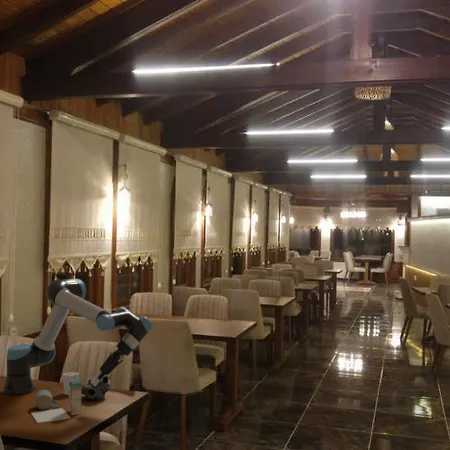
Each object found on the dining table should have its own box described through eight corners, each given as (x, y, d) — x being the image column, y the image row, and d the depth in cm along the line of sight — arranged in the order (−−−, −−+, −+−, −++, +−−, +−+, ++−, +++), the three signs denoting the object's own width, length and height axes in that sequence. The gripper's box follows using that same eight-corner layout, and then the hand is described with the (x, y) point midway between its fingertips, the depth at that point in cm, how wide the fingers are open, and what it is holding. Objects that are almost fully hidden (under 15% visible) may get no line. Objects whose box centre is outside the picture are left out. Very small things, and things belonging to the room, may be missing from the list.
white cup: (82, 392, 294) (82, 373, 294) (70, 396, 287) (70, 376, 288) (71, 390, 298) (71, 371, 299) (59, 394, 292) (59, 374, 292)
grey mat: (30, 413, 259) (30, 412, 259) (62, 409, 266) (62, 408, 266) (37, 423, 245) (37, 422, 245) (70, 418, 252) (70, 417, 252)
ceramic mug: (36, 411, 262) (36, 394, 263) (34, 406, 270) (35, 390, 270) (59, 409, 266) (60, 392, 267) (58, 404, 274) (58, 388, 274)
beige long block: (69, 411, 263) (69, 380, 263) (77, 410, 265) (78, 379, 265) (72, 414, 257) (72, 383, 258) (81, 413, 259) (81, 382, 260)
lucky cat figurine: (85, 393, 292) (99, 368, 295) (105, 405, 288) (118, 379, 291) (74, 393, 277) (88, 366, 281) (94, 404, 274) (109, 377, 277)
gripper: (137, 352, 269) (102, 392, 260) (128, 347, 280) (94, 386, 272) (126, 341, 266) (90, 382, 258) (117, 337, 278) (83, 376, 269)
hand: (92, 384), depth 265 cm, fingers closed
